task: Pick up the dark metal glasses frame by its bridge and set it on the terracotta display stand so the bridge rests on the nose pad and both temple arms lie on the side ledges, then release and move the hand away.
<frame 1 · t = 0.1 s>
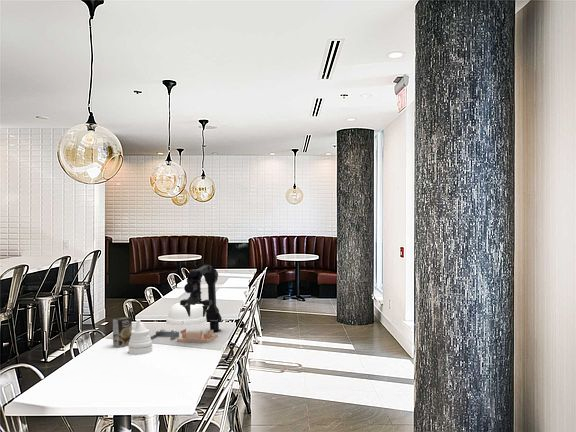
hand: (196, 316, 335), 15 cm above the table, tool pointing down, fingers open, 9 cm apart
glasses frame: (167, 336, 350), on the table
display stand: (197, 339, 341), on the table
coffee box: (122, 345, 328), on the table
dome cover: (187, 322, 399), on the table
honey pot: (140, 352, 312), on the table
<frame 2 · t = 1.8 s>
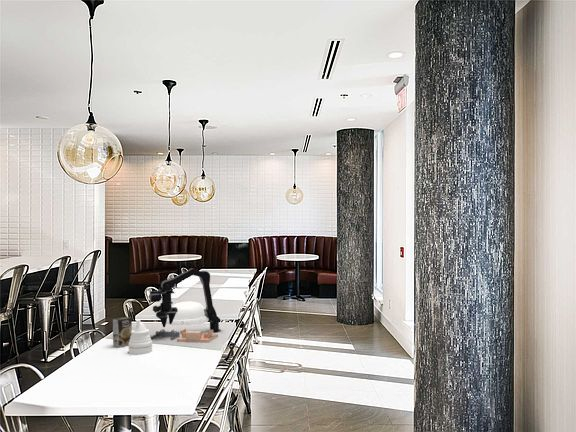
hand: (167, 325, 350), 7 cm above the table, tool pointing down, fingers open, 9 cm apart
nothing on the table moved.
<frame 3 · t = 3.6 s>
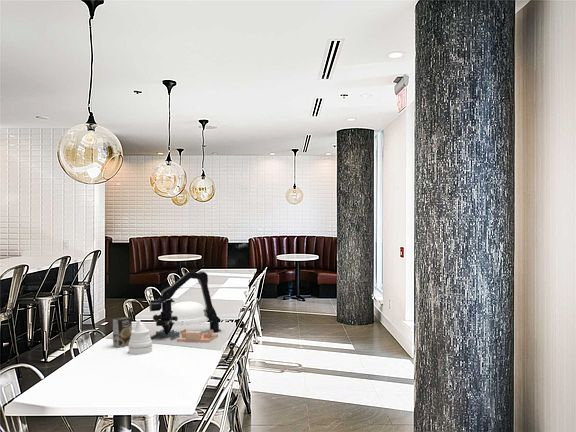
hand: (167, 334, 350), 1 cm above the table, tool pointing down, fingers closed on glasses frame, 2 cm apart
glasses frame: (167, 336, 350), on the table, touching gripper
everything else where it was.
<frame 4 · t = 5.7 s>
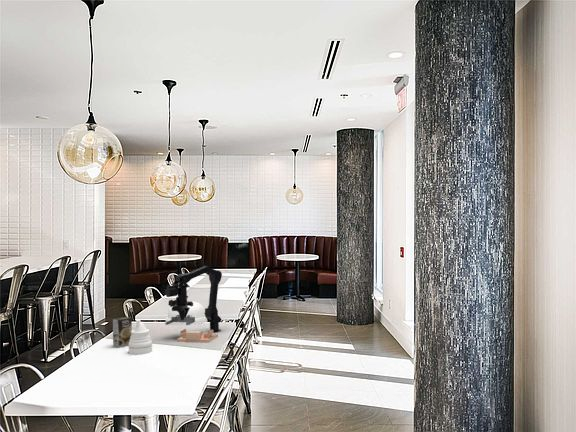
hand: (183, 319, 348), 11 cm above the table, tool pointing down, fingers closed on glasses frame
glasses frame: (183, 321, 348), point 9 cm above the table, touching gripper
everything else where it was.
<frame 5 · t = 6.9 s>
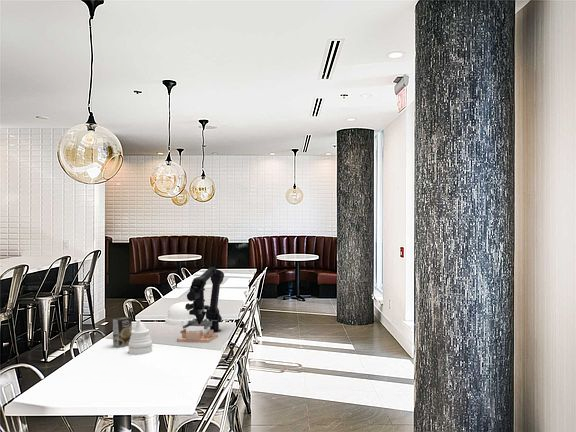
hand: (199, 323, 345), 8 cm above the table, tool pointing down, fingers closed on glasses frame
glasses frame: (200, 325, 345), point 7 cm above the table, touching gripper
everything else where it was.
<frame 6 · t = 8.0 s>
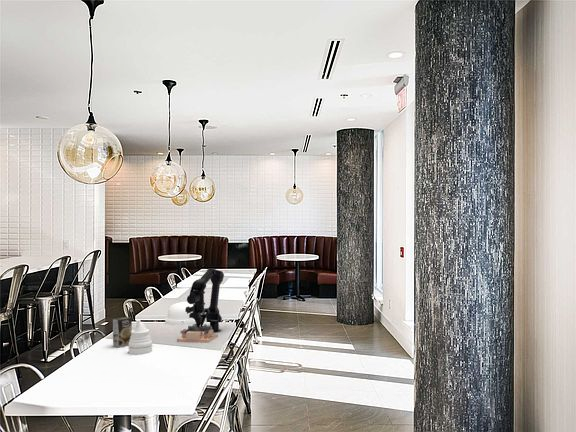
hand: (200, 326, 345), 7 cm above the table, tool pointing down, fingers open, 5 cm apart
glasses frame: (200, 331, 345), point 4 cm above the table, touching display stand
everything else where it was.
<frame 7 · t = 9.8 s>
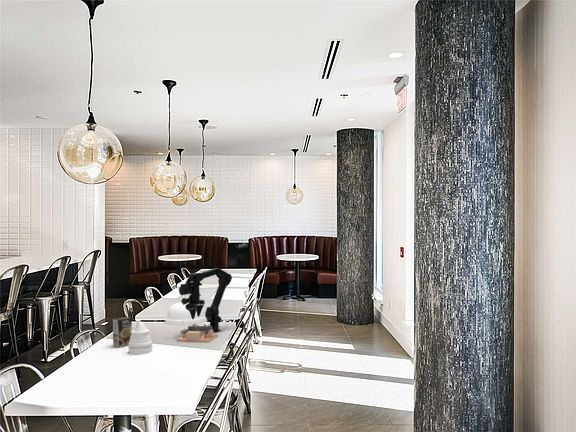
hand: (195, 317, 352), 11 cm above the table, tool pointing down, fingers open, 9 cm apart
nothing on the table moved.
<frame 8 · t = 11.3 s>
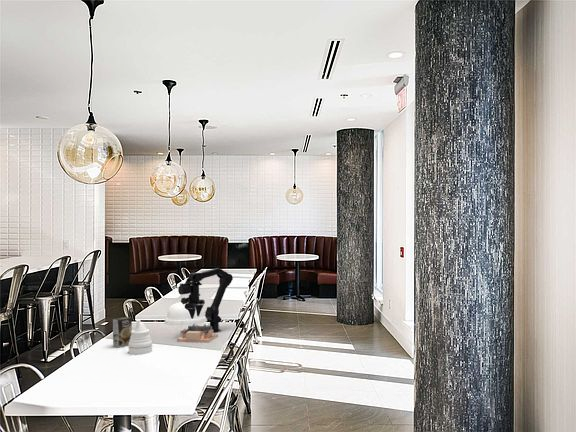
hand: (195, 317, 353), 11 cm above the table, tool pointing down, fingers open, 9 cm apart
at the end: glasses frame 0.1 cm from the target spot on the display stand, point 4.0 cm above the display stand's base; glasses frame tilted 0°; the gripper is holding nothing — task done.
